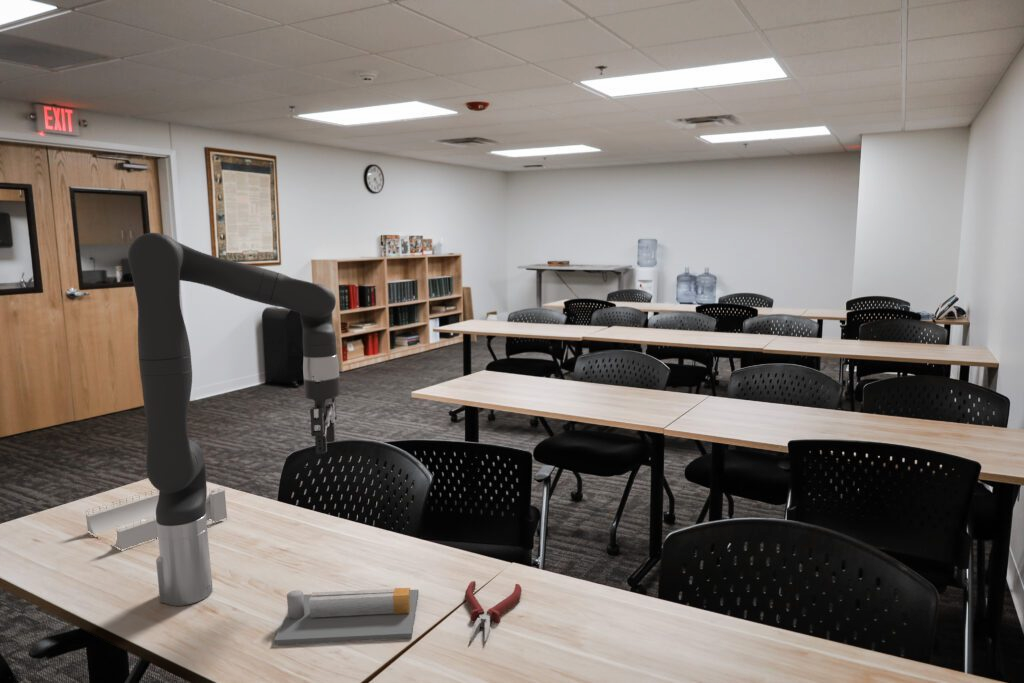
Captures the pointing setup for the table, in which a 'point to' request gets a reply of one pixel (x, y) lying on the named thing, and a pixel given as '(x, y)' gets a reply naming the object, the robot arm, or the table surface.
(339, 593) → the leg
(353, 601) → the leg
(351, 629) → the mat
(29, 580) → the table surface
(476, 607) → the pliers
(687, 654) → the table surface
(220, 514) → the skate ramp
